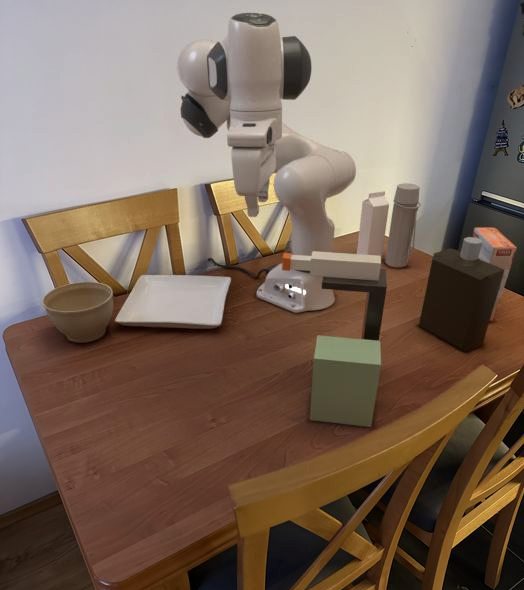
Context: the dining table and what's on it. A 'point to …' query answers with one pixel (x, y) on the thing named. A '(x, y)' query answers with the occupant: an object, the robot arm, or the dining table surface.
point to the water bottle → (402, 225)
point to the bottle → (460, 295)
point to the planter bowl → (80, 310)
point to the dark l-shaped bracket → (373, 300)
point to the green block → (345, 380)
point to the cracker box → (495, 255)
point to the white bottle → (335, 265)
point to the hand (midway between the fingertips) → (258, 208)
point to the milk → (373, 224)
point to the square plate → (175, 302)
